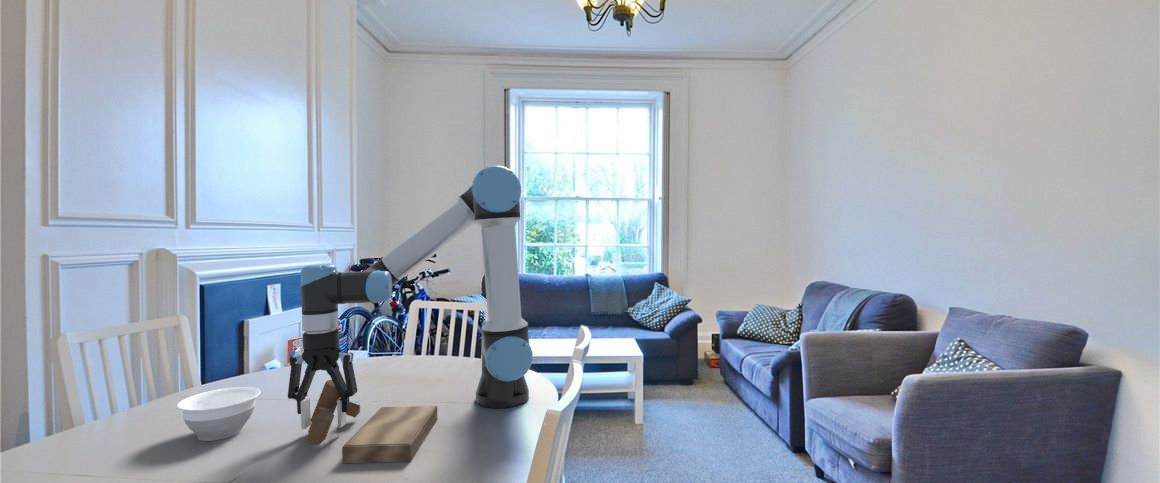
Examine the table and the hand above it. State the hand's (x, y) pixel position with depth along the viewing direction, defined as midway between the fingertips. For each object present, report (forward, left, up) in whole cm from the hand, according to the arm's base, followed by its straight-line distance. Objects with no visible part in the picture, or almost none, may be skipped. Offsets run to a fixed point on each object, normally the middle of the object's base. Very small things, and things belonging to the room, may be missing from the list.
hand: (324, 426), depth 110 cm
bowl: (+26, -3, -2) cm, 26 cm away
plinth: (-17, +3, -2) cm, 18 cm away
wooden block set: (-1, 0, -1) cm, 1 cm away
